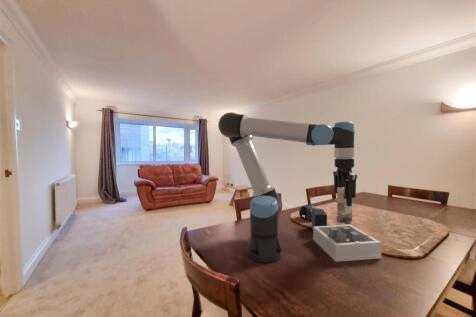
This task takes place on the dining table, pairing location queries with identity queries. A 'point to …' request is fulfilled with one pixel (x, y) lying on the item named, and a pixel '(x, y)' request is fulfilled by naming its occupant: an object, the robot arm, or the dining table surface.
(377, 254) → the white open square box
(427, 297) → the dining table surface
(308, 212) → the rock
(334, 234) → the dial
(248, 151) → the robot arm
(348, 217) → the long wooden block
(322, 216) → the small box
